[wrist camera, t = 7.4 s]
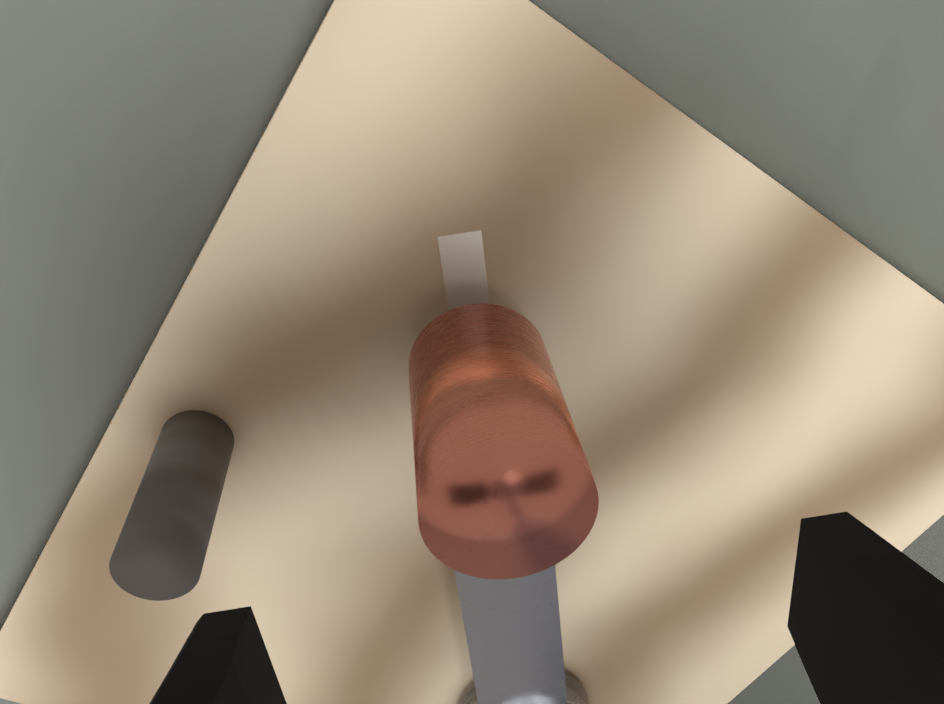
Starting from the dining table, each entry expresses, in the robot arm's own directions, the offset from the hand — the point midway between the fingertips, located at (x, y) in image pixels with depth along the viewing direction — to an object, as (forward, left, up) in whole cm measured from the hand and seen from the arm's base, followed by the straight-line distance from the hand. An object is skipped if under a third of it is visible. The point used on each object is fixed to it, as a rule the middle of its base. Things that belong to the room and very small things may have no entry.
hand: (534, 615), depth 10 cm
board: (-4, +5, -9) cm, 11 cm away
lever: (-4, +5, -8) cm, 10 cm away
